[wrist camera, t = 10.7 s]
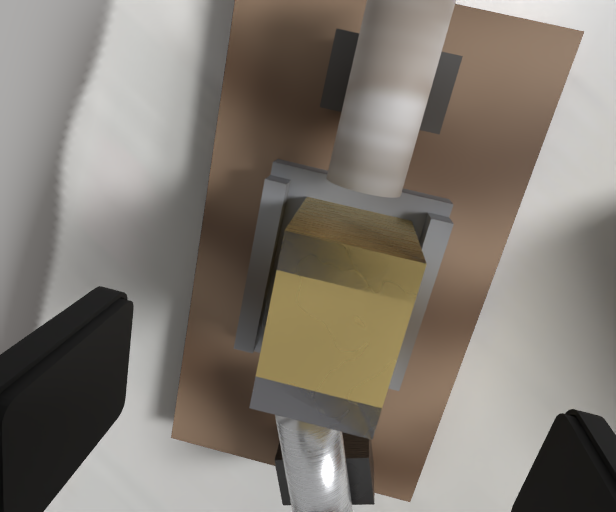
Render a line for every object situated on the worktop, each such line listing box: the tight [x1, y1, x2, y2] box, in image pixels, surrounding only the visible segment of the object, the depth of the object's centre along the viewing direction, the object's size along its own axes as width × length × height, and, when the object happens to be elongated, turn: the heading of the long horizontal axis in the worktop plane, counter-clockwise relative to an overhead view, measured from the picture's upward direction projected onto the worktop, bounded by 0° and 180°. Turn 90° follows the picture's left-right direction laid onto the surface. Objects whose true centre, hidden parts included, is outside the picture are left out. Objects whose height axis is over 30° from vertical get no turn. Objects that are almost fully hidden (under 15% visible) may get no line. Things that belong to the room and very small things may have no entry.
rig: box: [171, 0, 584, 502], centre depth 18 cm, size 21×12×6 cm, turn 168°
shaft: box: [275, 415, 374, 512], centre depth 20 cm, size 6×4×5 cm, turn 8°
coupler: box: [249, 197, 427, 440], centre depth 16 cm, size 6×4×5 cm, turn 168°
